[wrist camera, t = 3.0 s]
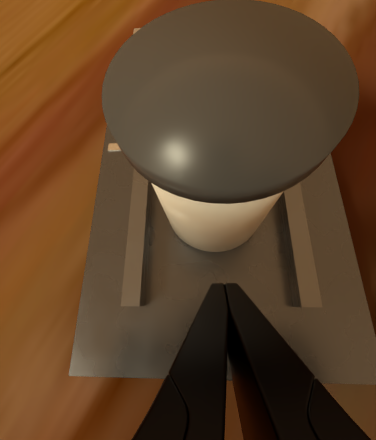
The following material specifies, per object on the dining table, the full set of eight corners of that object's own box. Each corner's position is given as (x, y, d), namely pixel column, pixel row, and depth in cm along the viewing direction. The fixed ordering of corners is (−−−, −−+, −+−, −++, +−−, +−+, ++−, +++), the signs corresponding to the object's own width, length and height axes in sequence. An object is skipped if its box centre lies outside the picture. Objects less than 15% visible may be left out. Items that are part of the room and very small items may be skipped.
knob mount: (366, 375, 12) (481, 428, 7) (83, 368, 14) (6, 409, 8) (300, 78, 20) (334, -1, 15) (120, 90, 21) (92, 20, 16)
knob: (275, 258, 13) (394, 184, 5) (158, 259, 14) (84, 194, 5) (262, 157, 15) (328, -10, 7) (163, 161, 16) (115, 9, 8)
